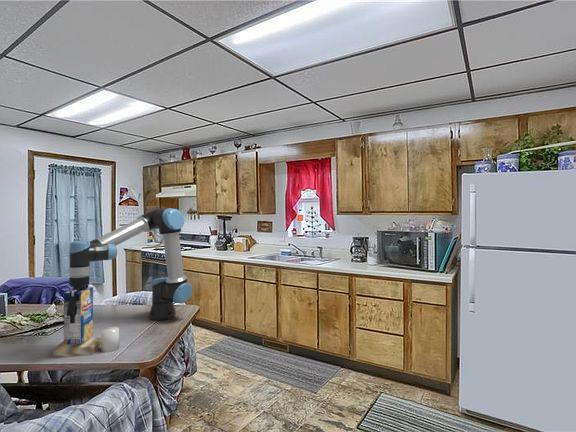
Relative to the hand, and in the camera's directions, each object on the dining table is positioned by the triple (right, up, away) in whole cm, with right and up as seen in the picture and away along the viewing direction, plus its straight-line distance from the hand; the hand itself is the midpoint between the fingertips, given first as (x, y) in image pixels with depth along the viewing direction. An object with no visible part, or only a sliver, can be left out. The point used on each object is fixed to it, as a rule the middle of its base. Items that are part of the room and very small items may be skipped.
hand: (78, 326), depth 145 cm
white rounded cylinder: (+13, -11, +2) cm, 17 cm away
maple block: (0, -11, 0) cm, 11 cm away
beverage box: (0, -6, 0) cm, 6 cm away
